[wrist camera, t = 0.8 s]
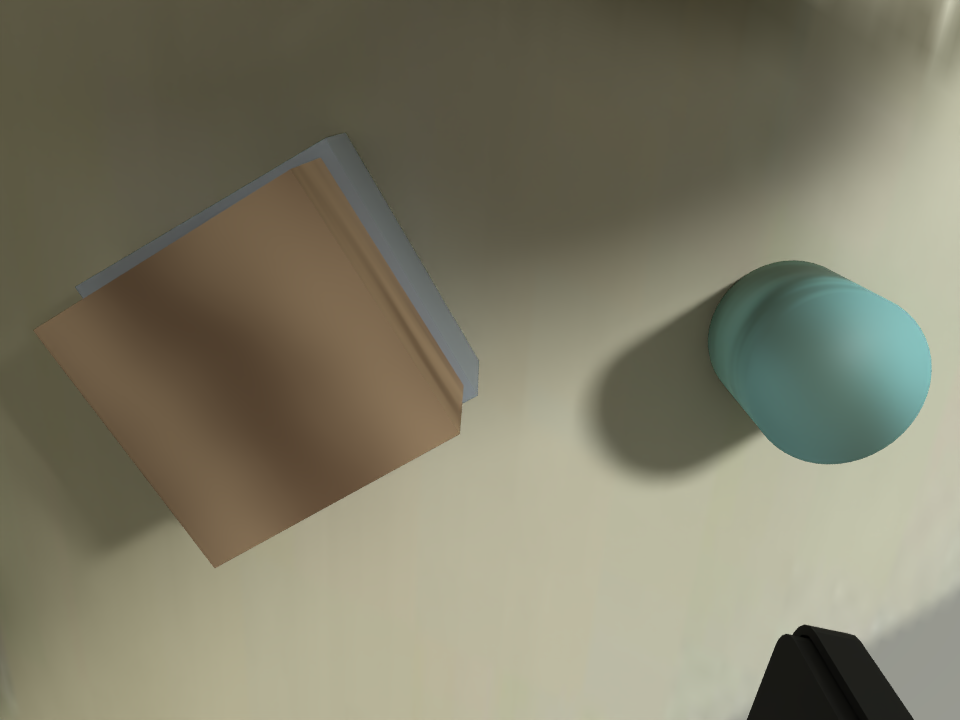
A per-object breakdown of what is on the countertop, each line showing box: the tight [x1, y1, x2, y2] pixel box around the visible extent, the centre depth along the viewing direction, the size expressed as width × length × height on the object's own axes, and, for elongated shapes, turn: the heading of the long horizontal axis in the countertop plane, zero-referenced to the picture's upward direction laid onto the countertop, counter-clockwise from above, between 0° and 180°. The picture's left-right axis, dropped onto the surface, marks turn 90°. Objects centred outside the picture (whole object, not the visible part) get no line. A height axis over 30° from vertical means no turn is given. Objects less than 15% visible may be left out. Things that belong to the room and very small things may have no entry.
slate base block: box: [75, 133, 479, 403], centre depth 32 cm, size 10×10×4 cm
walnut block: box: [33, 158, 464, 568], centre depth 28 cm, size 9×9×4 cm
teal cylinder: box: [708, 261, 932, 464], centre depth 31 cm, size 6×6×6 cm
